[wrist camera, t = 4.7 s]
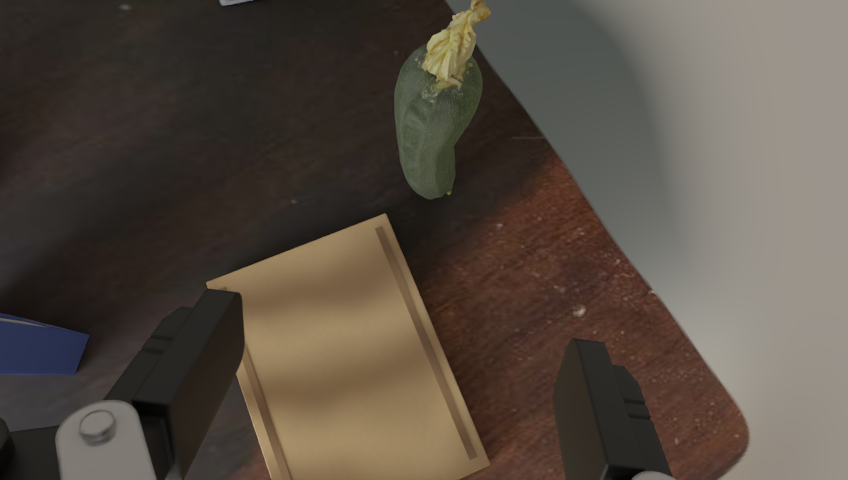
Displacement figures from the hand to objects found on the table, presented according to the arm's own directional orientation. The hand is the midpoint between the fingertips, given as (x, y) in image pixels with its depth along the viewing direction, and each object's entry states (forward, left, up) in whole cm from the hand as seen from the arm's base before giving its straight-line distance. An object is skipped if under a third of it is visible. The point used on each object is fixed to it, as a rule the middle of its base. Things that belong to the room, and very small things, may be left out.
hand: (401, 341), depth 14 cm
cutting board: (-1, -4, -25) cm, 25 cm away
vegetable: (-12, +7, -25) cm, 29 cm away
